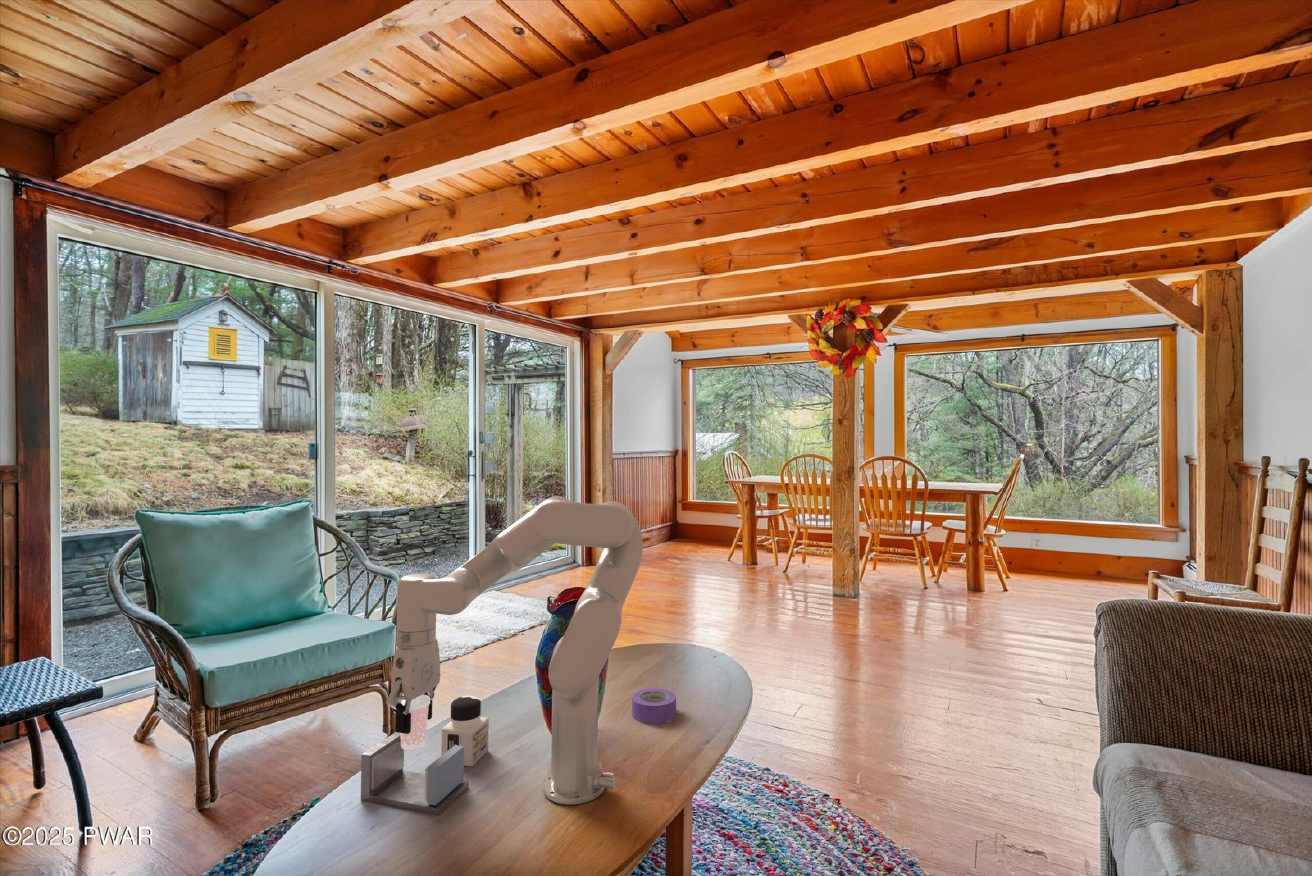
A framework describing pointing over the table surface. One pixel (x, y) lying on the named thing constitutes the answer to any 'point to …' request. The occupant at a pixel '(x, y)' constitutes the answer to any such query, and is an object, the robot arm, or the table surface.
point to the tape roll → (653, 706)
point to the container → (466, 729)
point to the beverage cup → (416, 723)
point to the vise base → (398, 780)
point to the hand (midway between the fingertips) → (414, 724)
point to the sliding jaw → (444, 775)
